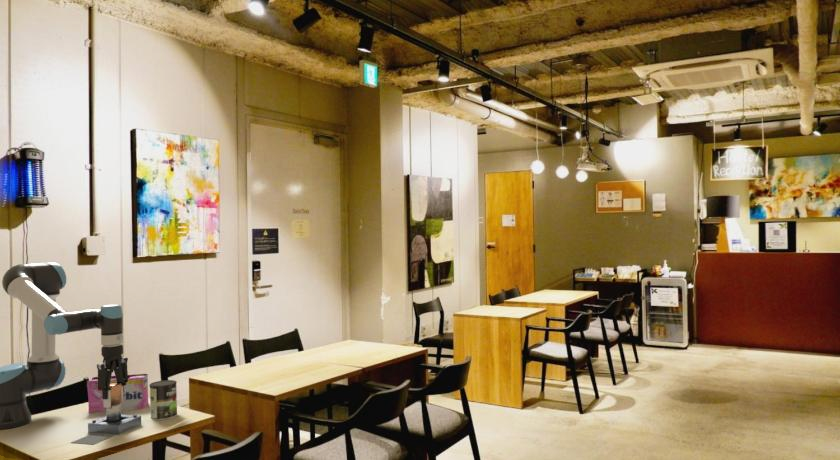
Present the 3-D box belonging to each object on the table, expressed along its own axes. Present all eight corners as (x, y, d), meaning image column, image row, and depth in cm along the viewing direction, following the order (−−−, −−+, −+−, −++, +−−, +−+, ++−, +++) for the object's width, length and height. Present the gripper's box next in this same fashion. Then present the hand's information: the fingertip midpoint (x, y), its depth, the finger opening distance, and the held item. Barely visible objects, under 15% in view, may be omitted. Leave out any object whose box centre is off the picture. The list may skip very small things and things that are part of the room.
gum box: (84, 412, 260) (83, 381, 261) (91, 407, 268) (90, 376, 268) (143, 408, 264) (143, 377, 264) (148, 403, 272) (148, 373, 272)
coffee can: (182, 413, 255) (181, 380, 255) (167, 421, 245) (166, 386, 245) (160, 412, 257) (159, 379, 257) (144, 420, 247) (143, 385, 247)
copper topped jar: (102, 420, 234) (101, 386, 234) (113, 415, 239) (112, 382, 239) (114, 421, 232) (113, 387, 232) (125, 416, 238) (124, 383, 238)
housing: (88, 433, 232) (87, 421, 232) (111, 423, 243) (111, 412, 243) (118, 436, 228) (118, 423, 228) (141, 426, 240) (141, 414, 240)
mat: (70, 444, 220) (70, 442, 220) (92, 435, 230) (92, 433, 230) (93, 446, 218) (93, 444, 218) (114, 436, 227) (114, 435, 227)
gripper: (101, 350, 225) (103, 412, 225) (137, 340, 244) (139, 398, 244) (85, 349, 227) (86, 411, 227) (122, 340, 246) (123, 397, 246)
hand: (113, 404), depth 236 cm, fingers closed on copper topped jar, 6 cm apart
